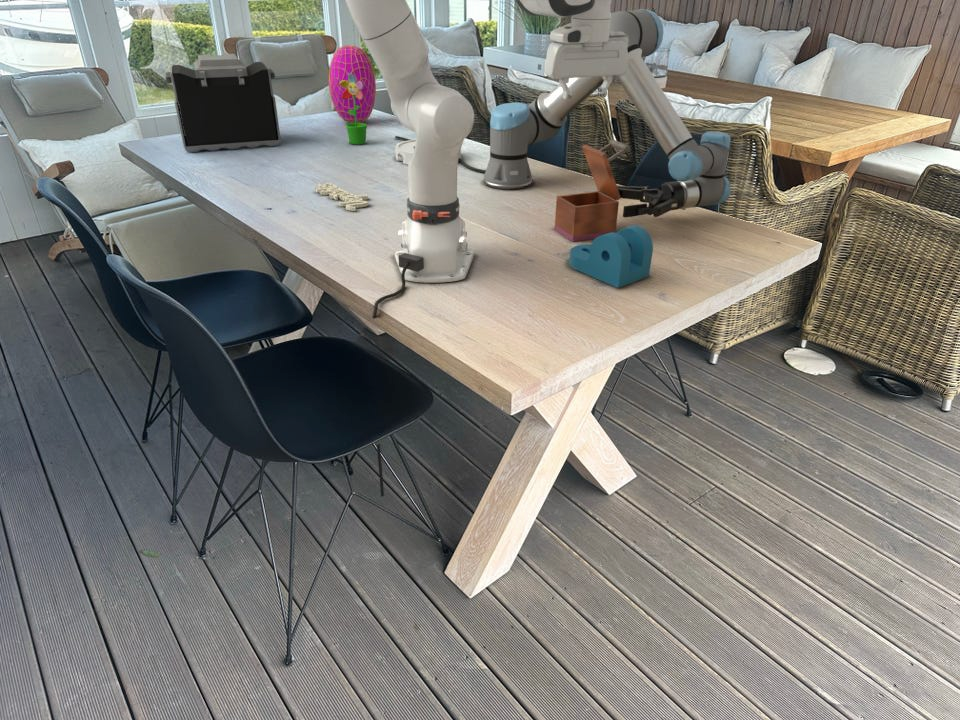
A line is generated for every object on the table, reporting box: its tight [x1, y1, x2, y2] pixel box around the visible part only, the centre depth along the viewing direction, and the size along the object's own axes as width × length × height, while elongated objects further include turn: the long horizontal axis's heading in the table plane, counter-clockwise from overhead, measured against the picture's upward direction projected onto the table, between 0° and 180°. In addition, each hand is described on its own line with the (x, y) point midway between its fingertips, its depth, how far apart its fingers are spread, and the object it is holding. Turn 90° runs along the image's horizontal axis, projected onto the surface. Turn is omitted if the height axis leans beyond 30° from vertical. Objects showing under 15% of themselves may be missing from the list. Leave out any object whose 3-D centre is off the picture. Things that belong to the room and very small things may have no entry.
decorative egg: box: [328, 44, 377, 124], centre depth 286 cm, size 19×19×30 cm
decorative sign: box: [315, 182, 369, 212], centre depth 203 cm, size 26×1×10 cm
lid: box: [581, 138, 631, 201], centre depth 174 cm, size 13×10×8 cm
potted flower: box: [339, 73, 368, 145], centre depth 255 cm, size 9×8×25 cm
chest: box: [554, 190, 620, 242], centre depth 178 cm, size 13×10×9 cm
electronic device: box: [164, 53, 282, 153], centre depth 252 cm, size 37×22×30 cm, turn 111°
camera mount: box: [568, 224, 654, 289], centre depth 156 cm, size 18×10×10 cm, turn 39°
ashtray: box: [394, 138, 462, 165], centre depth 243 cm, size 23×23×4 cm
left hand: (584, 97), depth 162 cm, fingers open, 8 cm apart
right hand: (609, 204), depth 179 cm, fingers open, 13 cm apart
